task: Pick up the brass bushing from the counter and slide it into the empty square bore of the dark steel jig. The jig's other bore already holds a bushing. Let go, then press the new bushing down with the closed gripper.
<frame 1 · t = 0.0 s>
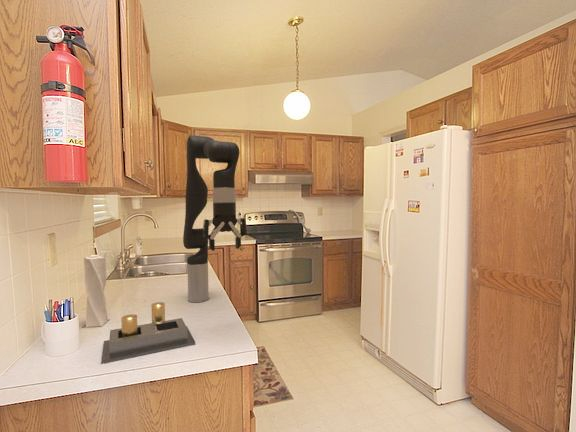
hand: (225, 249, 109), 29 cm above the table, fingers open, 8 cm apart
jig: (149, 343, 103), on the table
bushing: (158, 328, 116), on the table
skyscraper: (97, 325, 121), on the table
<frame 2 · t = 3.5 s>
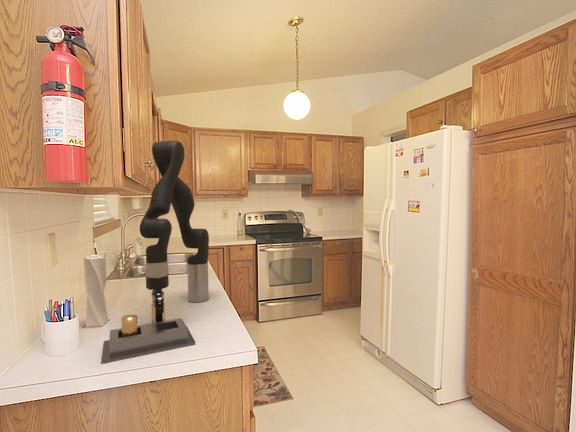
hand: (158, 321, 115), 3 cm above the table, fingers closed on bushing, 4 cm apart
bushing: (158, 328, 116), on the table, touching gripper
everything else where it was.
when the fingers open (6 cm above the table, at t = 8.2 s): bushing drops 2 cm, resting on jig.
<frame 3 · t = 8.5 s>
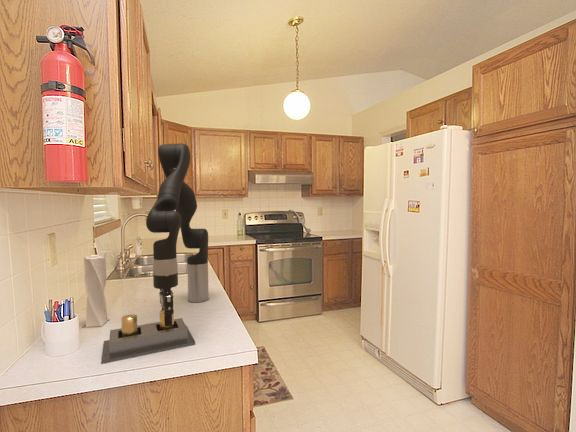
hand: (166, 321, 105), 6 cm above the table, fingers open, 7 cm apart
bushing: (167, 337, 106), point 1 cm above the table, touching jig
everything else where it was.
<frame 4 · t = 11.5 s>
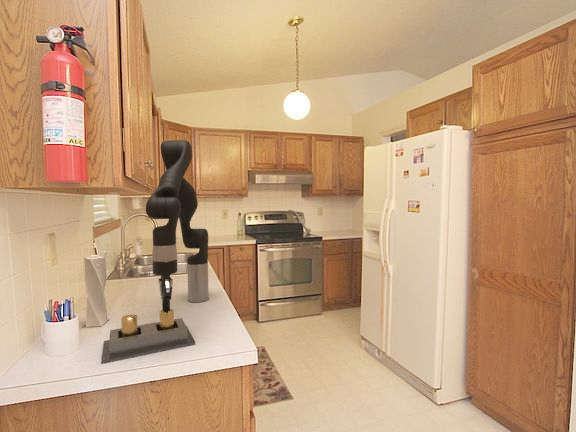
hand: (166, 311, 105), 10 cm above the table, fingers closed
bushing: (167, 337, 106), point 1 cm above the table, touching gripper, jig
everything else where it was.
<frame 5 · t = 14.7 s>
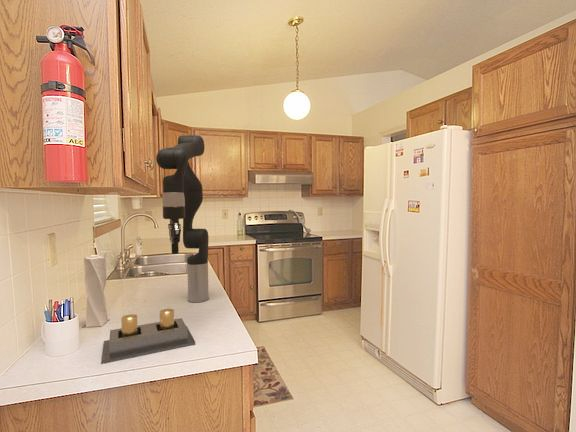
hand: (175, 253, 115), 27 cm above the table, fingers closed
bushing: (167, 337, 106), point 1 cm above the table, touching jig
everything else where it was.
at the end: bushing 0.0 cm from the target spot on the jig, point 0.8 cm above the jig's base; bushing tilted 1°; the gripper is holding nothing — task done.
